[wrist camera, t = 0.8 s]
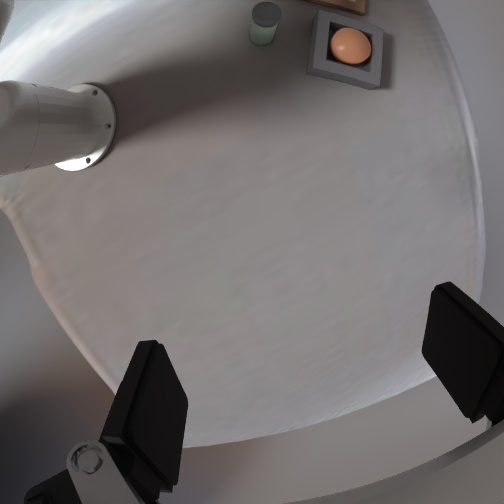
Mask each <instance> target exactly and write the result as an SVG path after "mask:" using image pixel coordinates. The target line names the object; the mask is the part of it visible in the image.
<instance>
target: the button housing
mask: <svg viewBox="0 0 504 504" xmlns="http://www.w3.org/2000/svg"><path fill="white" fill-rule="evenodd" d="M342 28H353V29H356V30H358V31H360V32H362V33H363V34H364V35H365V36H366V37H367V39H368V40H369V42H370V45H371V53H370V55H369V57H368V58H367V59H366V60H364V61H363V62H361V63H359V64H357V65H351V66H350V65H345V64H343V63H341V62H339V61H338V60H336V59H335V58H334V56H333V55H332V53H331V51H330V48H329V42H330V39H331V38H332V36H333V35H334V34H335V33H336V32H337V31H338V30H340V29H342ZM382 51H383V29H381V28H378V27H376V26H373V25H370V24H367V23H364V22H361V21H358V20H355V19H352V18H348V17H345V16H342V15H338V14H335V13H331V12H327V11H323V10H319V11H318V12H317V14H316V15H315V17H314V18H313V25H312V34H311V42H310V50H309V59H308V67H307V74H310V75H315V76H319V77H324V78H328V79H332V80H336V81H340V82H344V83H347V84H351V85H354V86H358V87H361V88H365V89H368V90H370V89H373V88H376V87H379V86H380V78H381V66H382Z"/></svg>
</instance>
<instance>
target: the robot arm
mask: <svg viewBox="0 0 504 504" xmlns="http://www.w3.org/2000/svg"><path fill="white" fill-rule="evenodd" d="M13 10H14V0H0V42H1V40H2V37H3V35H4V33H5V31H6V28H7V26H8V24H9V21H10V19H11V16H12V13H13ZM97 92H98V93H97ZM110 124H111V127H109V126H110ZM115 128H116V113H115V108H114V105H113V103H112V100H111V99H110V97H109V96H108V94H106V93H105V92H104V91H103V90H102V89H100V88H98V87H96V86H93V85H89V84H80V85H75V86H72V87H70V88H68V89H66V90H62V89H57V88H52V87H47V86H42V85H37V84H31V83H26V82H20V81H2V82H0V177H1V176H5V175H8V174H12V173H16V172H20V171H25V170H29V169H33V168H38V167H42V166H47V165H52V164H55V165H56V166H58V167H59V168H61V169H64V170H67V171H79V170H83V169H86V168H88V167H90V166H92V165H94V164H95V163H96V162H98V161H99V160H100V159H101V158H102V157H103V156H104V154H105V153H106V151H107V150H108V149H109V146H110V144H111V142H112V140H113V137H114V133H115ZM90 159H91V162H90ZM422 354H423V357H424V358H425V360H426V361H427V362H428V364H429V365H430V367H431V368H432V369H433V371H434V372H435V374H436V375H437V376H438V378H439V379H440V381H441V382H442V384H443V385H444V387H445V388H446V389H447V391H448V392H449V394H450V395H451V397H452V398H453V400H454V401H455V403H456V404H457V406H458V407H459V409H460V410H461V412H462V413H463V415H464V416H465V417H466V418H470V420H471V422H472V423H474V422H476V421H478V420H479V419H481V418H483V417H484V415H486V417H487V418H488V420H487V427H486V431H485V432H483V433H482V434H480V435H478V436H477V437H475V438H473V439H472V440H470V441H468V442H466V443H464V444H463V445H461V446H459V447H457V448H455V449H453V450H452V451H449V452H447V453H445V454H443V455H441V456H439V457H437V458H435V459H433V460H430V461H428V462H426V463H424V464H422V465H419V466H417V467H415V468H412V469H410V470H407V471H405V472H402V473H400V474H397V475H394V476H392V477H389V478H386V479H383V480H380V481H377V482H374V483H371V484H368V485H365V486H361V487H358V488H355V489H351V490H347V491H343V492H340V493H335V494H331V495H327V496H322V497H318V498H313V499H308V500H302V501H296V502H290V503H284V504H504V327H503V326H502V325H501V324H500V323H499V322H497V321H496V320H495V319H494V318H493V317H492V316H491V315H490V314H489V313H487V312H486V311H485V310H484V309H482V307H481V306H479V305H478V304H477V303H476V302H475V301H474V300H472V299H471V298H470V297H469V296H468V295H466V294H465V293H464V292H463V291H462V290H460V289H459V288H458V287H457V286H455V285H454V284H453V283H452V282H445V283H442V284H439V285H436V286H435V288H434V290H433V291H432V293H431V298H430V305H429V312H428V318H427V324H426V329H425V335H424V340H423V345H422ZM187 410H188V399H187V396H186V394H185V392H184V390H183V388H182V385H181V383H180V381H179V379H178V377H177V375H176V373H175V370H174V368H173V366H172V364H171V361H170V359H169V357H168V354H167V352H166V350H165V347H164V345H163V344H159V343H158V342H157V341H156V340H148V341H140V342H139V343H138V345H137V347H136V349H135V352H134V354H133V356H132V359H131V361H130V363H129V366H128V368H127V371H126V373H125V376H124V378H123V381H122V382H121V384H120V386H119V388H118V391H117V393H116V396H115V398H114V401H113V404H112V406H111V409H110V411H109V414H108V417H107V419H106V422H105V425H104V428H103V431H102V433H101V436H100V439H99V442H98V441H93V440H89V441H83V442H81V443H79V444H77V445H76V446H74V447H73V449H72V450H71V451H70V453H69V455H68V457H67V469H66V470H64V471H62V472H61V473H58V474H57V475H55V476H53V477H51V478H49V479H48V480H46V481H44V482H42V483H40V484H38V485H36V486H34V487H33V488H31V489H30V490H29V491H28V492H27V494H26V496H25V498H24V504H161V503H160V502H159V500H158V499H159V494H160V492H168V493H172V488H173V485H177V483H178V476H179V469H180V461H181V453H182V445H183V438H184V431H185V424H186V417H187Z"/></svg>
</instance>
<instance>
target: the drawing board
mask: <svg viewBox="0 0 504 504" xmlns="http://www.w3.org/2000/svg"><path fill="white" fill-rule="evenodd" d="M304 1H309V2H313V3H317V4H321V5H325V6H329V7H333V8H337V9H340V10H344V11H347V12H350V13H353V14H357V15H360V16H362V15H364V14H365V0H304Z"/></svg>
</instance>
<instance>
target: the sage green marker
mask: <svg viewBox="0 0 504 504" xmlns="http://www.w3.org/2000/svg"><path fill="white" fill-rule="evenodd" d="M280 17H281V10H280V9H279V7H278V6H277V5H275V4H273V3H270V2H262V3H259V4H257V5H256V6H255V7H254V8H253V11H252V21H251V30H250V40H251V41H252V42H253V43H254V44H256V45H258V46H265V45H268V44H270V43H271V42H272V40H273V37H274V34H275V31H276V28H277V25H278V22H279V20H280Z"/></svg>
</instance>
